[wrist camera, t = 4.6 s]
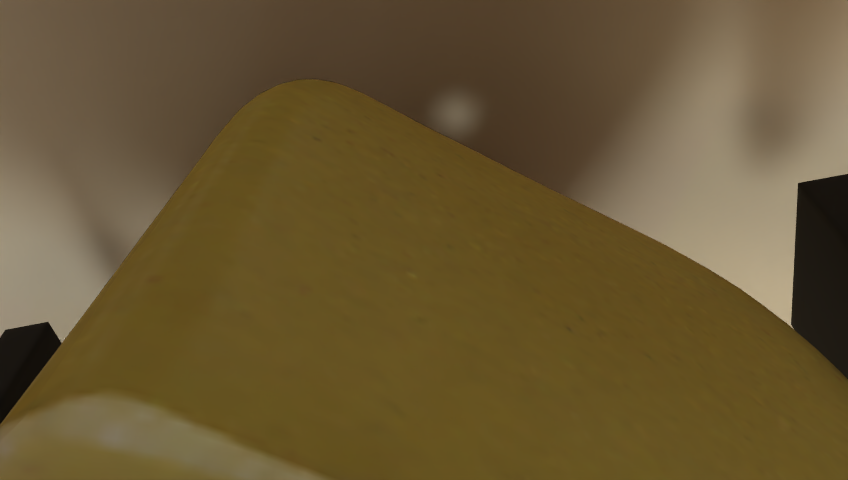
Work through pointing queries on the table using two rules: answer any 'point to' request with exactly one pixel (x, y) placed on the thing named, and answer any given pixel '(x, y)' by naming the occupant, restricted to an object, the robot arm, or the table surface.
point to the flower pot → (413, 330)
